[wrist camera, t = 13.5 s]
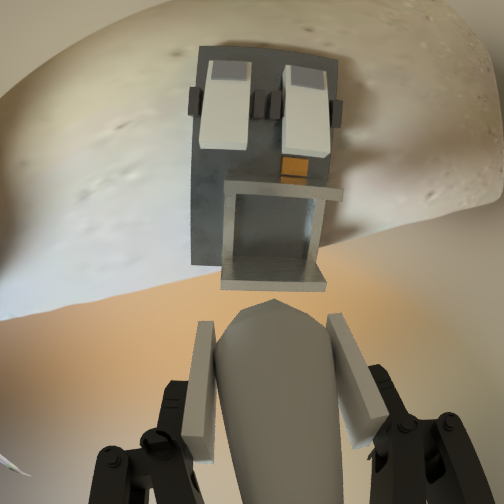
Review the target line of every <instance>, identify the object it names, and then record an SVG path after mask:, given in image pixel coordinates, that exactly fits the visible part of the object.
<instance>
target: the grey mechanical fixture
mask: <svg viewBox="0 0 504 504" xmlns="http://www.w3.org/2000/svg"><path fill="white" fill-rule="evenodd" d="M213 60H226V61H247V62H252V65H251V82H250V101H249V120H248V140H247V148H246V150H230V149H201V148H200V144H199V134H200V125H201V116H202V108H203V100H204V93H205V85H206V78H207V71H208V65H209V61H213ZM286 65H292V66H299V67H305V68H311V69H317V70H322V71H326V76H327V89H328V104H329V124H330V153H329V154H328V155H327V156H326V157H325V158H320V157H312V156H303V155H294V154H284V153H282V102H283V71H284V69H285V66H286ZM337 73H338V60H334V59H329V58H325V57H320V56H314V55H309V54H303V53H297V52H290V51H283V50H274V49H265V48H253V47H237V46H199V55H198V65H197V76H196V87H190V91H189V104H188V115H189V116H192V117H193V135H192V160H191V265H203V266H222V271H221V290H244V291H289V292H291V291H292V292H325V289H326V285H327V281H326V280H325V278H324V276H323V274H322V273H321V271H320V269H319V267H318V266H317V264H316V259H317V253H318V248H319V242H320V236H321V230H322V223H323V217H324V210H325V203H326V200H331V201H341V202H342V200H343V193H344V189H342V188H340V187H338V186H337V185H335V184H333V183H331V182H330V181H328V173H329V165H330V156H331V147H332V138H333V128H340V127H341V116H342V104H343V101H339V100H336V90H337Z"/></svg>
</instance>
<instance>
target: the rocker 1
mask: <svg viewBox="0 0 504 504" xmlns="http://www.w3.org/2000/svg"><path fill="white" fill-rule="evenodd" d="M251 65H252V62H247V61H226V60H213V61H209V65H208V71H207V78H206V85H205V93H204V100H203V108H202V116H201V125H200V134H199V144H200V148H201V149H230V150H246V148H247V140H248V120H249V101H250V82H251Z"/></svg>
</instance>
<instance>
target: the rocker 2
mask: <svg viewBox="0 0 504 504" xmlns="http://www.w3.org/2000/svg"><path fill="white" fill-rule="evenodd" d="M282 153H284V154H294V155H303V156H312V157H320V158H325V157H326V156H327V155H328V154H329V153H330V124H329V104H328V89H327V76H326V71H322V70H317V69H311V68H305V67H299V66H292V65H286V66H285V69H284V71H283V102H282Z"/></svg>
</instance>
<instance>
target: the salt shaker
mask: <svg viewBox="0 0 504 504" xmlns="http://www.w3.org/2000/svg"><path fill="white" fill-rule="evenodd" d="M214 367H215V377H216V383H217V389H218V394H219V399H220V405H221V410H222V415H223V420H224V425H225V430H226V434H227V439H228V444H229V448H230V453H231V457H232V462H233V466H234V470H235V474H236V478H237V482H238V486H239V490H240V494H241V498H242V502H243V504H344V501H343V472H342V471H343V470H342V452H341V438H340V424H339V408H338V395H337V383H336V372H335V362H334V352H333V348H332V344H331V340H330V336H329V333H328V331H327V330H326V328H325V327H324V326H322V325H321V324H320V323H319V322H317V321H316V320H315V319H314V318H312V317H311V316H310V315H308V314H307V313H304V312H302V311H300V310H298V309H296V308H293V307H291V306H289V305H287V304H285V303H283V302H280V301H278V300H276V299H272V300H270V301H266V302H264V303H261V304H258V305H255V306H252V307H249V308H246V309H243V310H241V311H240V312H239V313H238V315H237V316H236V317H235V318H234V320H233V321H232V322H231V323H230V324H229V326H228V327H227V329H226V330H225V332H224V333H223V335H222V336H221V338H220V339H219V341H218V342H217V344H216V347H215V350H214Z"/></svg>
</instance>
